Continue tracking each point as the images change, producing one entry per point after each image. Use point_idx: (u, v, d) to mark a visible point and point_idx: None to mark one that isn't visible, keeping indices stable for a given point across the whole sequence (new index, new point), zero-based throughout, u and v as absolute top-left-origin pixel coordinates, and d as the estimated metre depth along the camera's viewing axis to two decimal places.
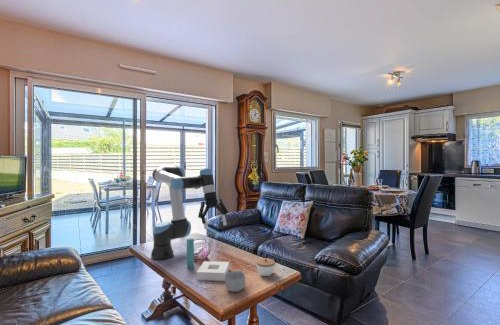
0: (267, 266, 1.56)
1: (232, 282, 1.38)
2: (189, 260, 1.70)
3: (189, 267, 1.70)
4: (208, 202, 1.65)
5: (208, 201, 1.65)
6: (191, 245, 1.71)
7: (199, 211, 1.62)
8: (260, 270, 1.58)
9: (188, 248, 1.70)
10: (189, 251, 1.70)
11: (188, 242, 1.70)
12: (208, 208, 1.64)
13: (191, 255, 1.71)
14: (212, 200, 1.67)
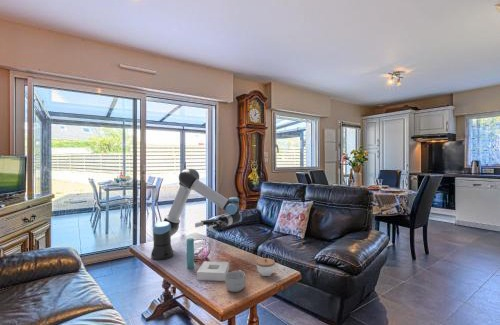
0: (267, 266, 1.56)
1: (232, 282, 1.38)
2: (189, 260, 1.70)
3: (189, 267, 1.70)
4: None
5: None
6: (191, 245, 1.71)
7: (222, 224, 1.82)
8: (260, 270, 1.58)
9: (188, 248, 1.70)
10: (189, 251, 1.70)
11: (188, 242, 1.70)
12: None
13: (191, 255, 1.71)
14: None
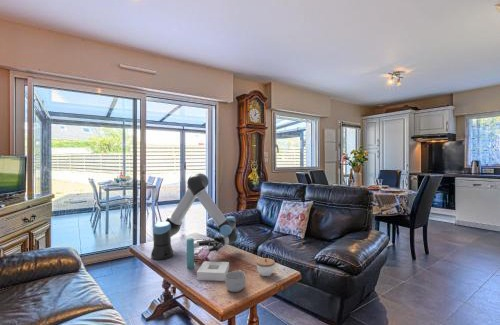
0: (267, 266, 1.56)
1: (232, 282, 1.38)
2: (189, 260, 1.70)
3: (189, 267, 1.70)
4: None
5: None
6: (191, 245, 1.71)
7: (219, 245, 1.79)
8: (260, 270, 1.58)
9: (188, 248, 1.70)
10: (189, 251, 1.70)
11: (188, 242, 1.70)
12: None
13: (191, 255, 1.71)
14: None
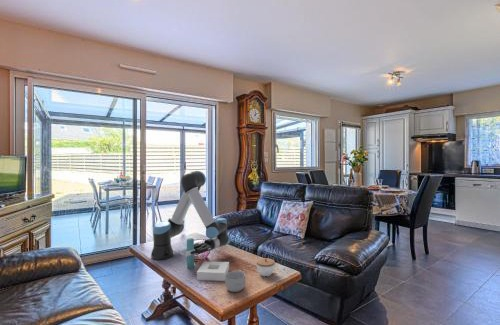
0: (267, 266, 1.56)
1: (232, 282, 1.38)
2: (189, 260, 1.70)
3: (189, 267, 1.70)
4: None
5: None
6: (191, 245, 1.71)
7: (203, 248, 1.73)
8: (260, 270, 1.58)
9: (188, 248, 1.70)
10: None
11: (188, 242, 1.70)
12: None
13: (191, 255, 1.71)
14: None
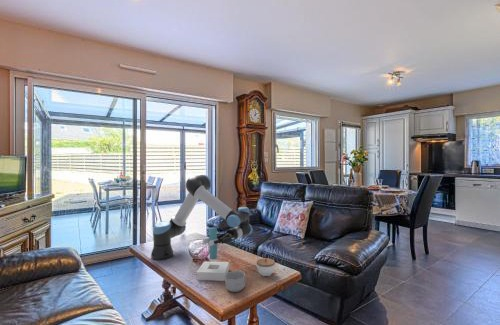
0: (267, 266, 1.56)
1: (232, 282, 1.38)
2: (212, 250, 1.60)
3: (212, 257, 1.60)
4: None
5: None
6: (214, 234, 1.60)
7: (226, 238, 1.62)
8: (260, 270, 1.58)
9: (211, 237, 1.60)
10: None
11: (211, 231, 1.60)
12: None
13: (214, 245, 1.60)
14: None
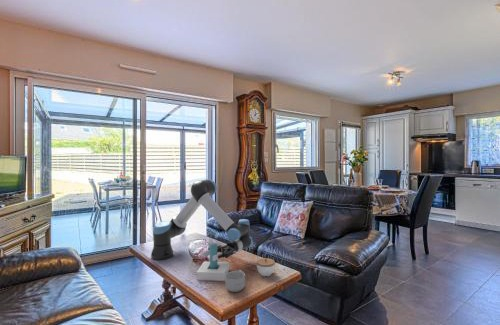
0: (267, 266, 1.56)
1: (232, 282, 1.38)
2: (213, 266, 1.60)
3: None
4: None
5: None
6: (215, 250, 1.60)
7: (229, 252, 1.62)
8: (260, 270, 1.58)
9: (211, 254, 1.60)
10: None
11: (212, 247, 1.60)
12: None
13: (215, 261, 1.60)
14: None
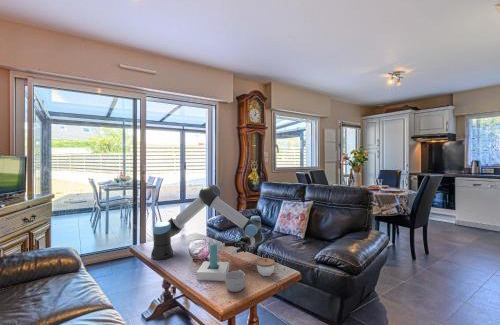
0: (267, 266, 1.56)
1: (232, 282, 1.38)
2: (213, 266, 1.60)
3: None
4: None
5: None
6: (215, 250, 1.60)
7: (246, 246, 1.72)
8: (260, 270, 1.58)
9: (211, 254, 1.60)
10: (213, 257, 1.60)
11: (211, 247, 1.60)
12: None
13: (215, 261, 1.60)
14: None
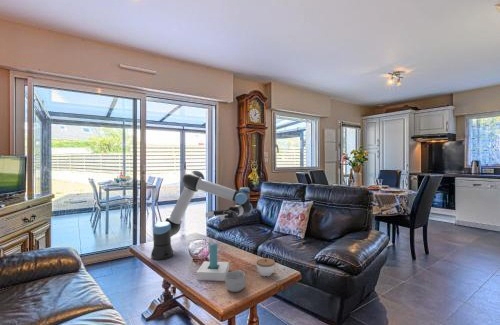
0: (267, 266, 1.56)
1: (232, 282, 1.38)
2: (212, 266, 1.60)
3: None
4: None
5: None
6: (215, 250, 1.60)
7: (234, 213, 1.77)
8: (260, 270, 1.58)
9: (211, 254, 1.60)
10: (213, 257, 1.60)
11: (211, 247, 1.60)
12: None
13: (215, 261, 1.60)
14: None
